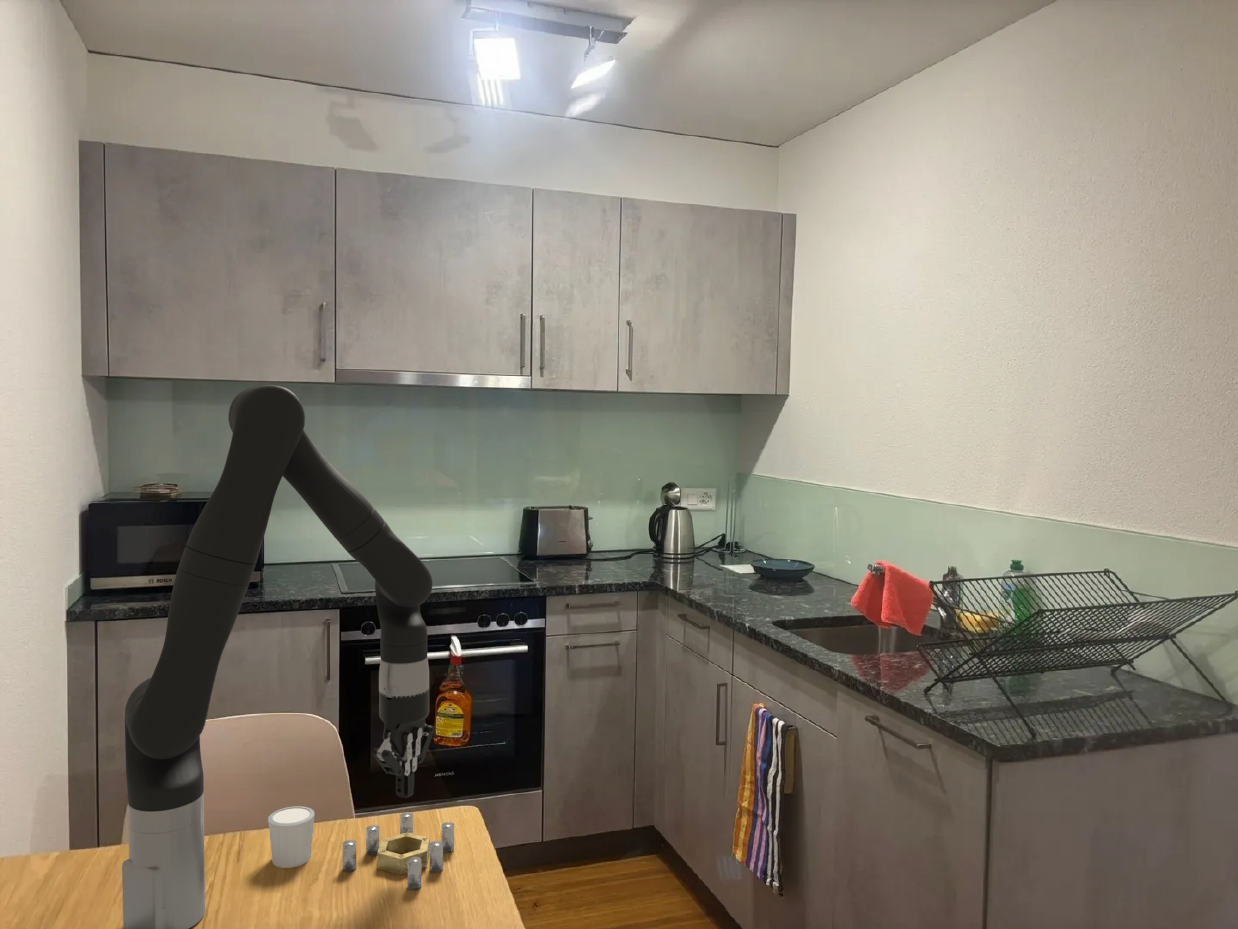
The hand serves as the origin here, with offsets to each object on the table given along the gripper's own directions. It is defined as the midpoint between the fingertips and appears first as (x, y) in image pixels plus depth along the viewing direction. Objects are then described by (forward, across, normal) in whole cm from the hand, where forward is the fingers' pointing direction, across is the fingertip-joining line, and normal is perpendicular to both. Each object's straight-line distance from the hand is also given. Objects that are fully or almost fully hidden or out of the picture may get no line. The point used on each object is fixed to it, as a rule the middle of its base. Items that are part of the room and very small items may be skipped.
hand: (405, 796), depth 142 cm
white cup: (+10, +7, -16) cm, 20 cm away
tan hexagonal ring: (+10, 0, 0) cm, 10 cm away
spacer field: (+10, 0, 0) cm, 10 cm away
